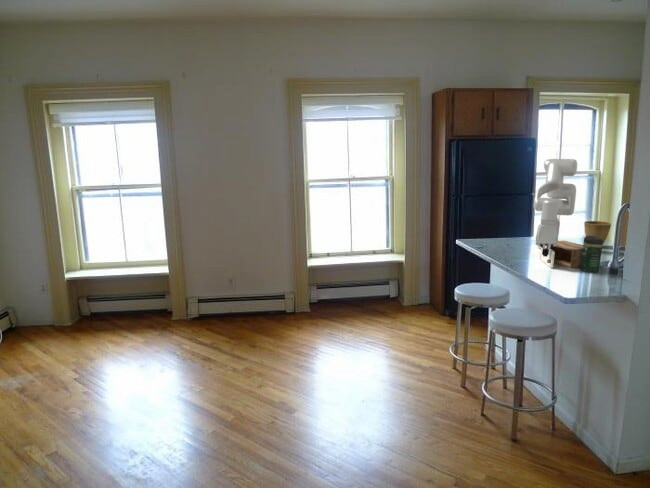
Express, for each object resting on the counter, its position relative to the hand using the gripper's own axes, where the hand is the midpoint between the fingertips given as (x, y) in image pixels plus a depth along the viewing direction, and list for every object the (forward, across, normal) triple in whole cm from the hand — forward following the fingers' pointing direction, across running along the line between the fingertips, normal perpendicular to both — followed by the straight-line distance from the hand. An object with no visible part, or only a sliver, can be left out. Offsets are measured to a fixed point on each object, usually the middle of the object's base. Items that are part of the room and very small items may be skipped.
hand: (545, 256), depth 238 cm
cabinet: (+6, -14, -11) cm, 19 cm away
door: (+5, -2, -6) cm, 8 cm away
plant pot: (+5, -43, -60) cm, 74 cm away
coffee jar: (+6, -22, +3) cm, 23 cm away
